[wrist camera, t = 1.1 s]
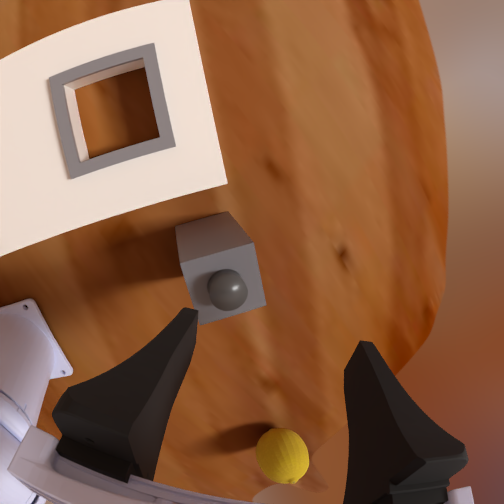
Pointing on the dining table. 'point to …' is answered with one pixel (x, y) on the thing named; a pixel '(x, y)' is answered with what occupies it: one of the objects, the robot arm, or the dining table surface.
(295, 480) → the lemon
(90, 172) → the socket board
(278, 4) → the dining table surface
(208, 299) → the plug
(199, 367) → the dining table surface
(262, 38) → the dining table surface
